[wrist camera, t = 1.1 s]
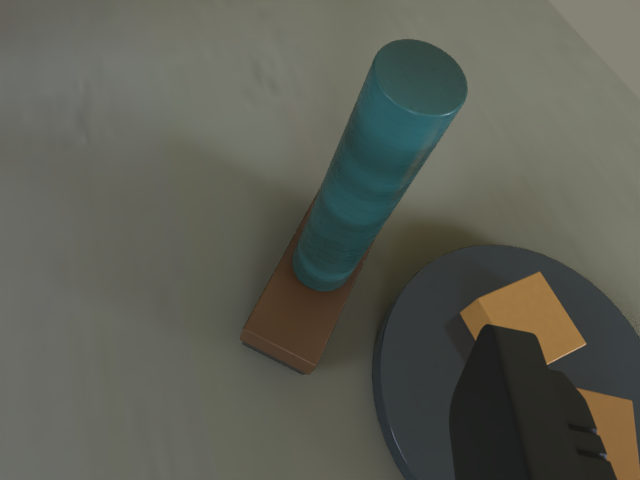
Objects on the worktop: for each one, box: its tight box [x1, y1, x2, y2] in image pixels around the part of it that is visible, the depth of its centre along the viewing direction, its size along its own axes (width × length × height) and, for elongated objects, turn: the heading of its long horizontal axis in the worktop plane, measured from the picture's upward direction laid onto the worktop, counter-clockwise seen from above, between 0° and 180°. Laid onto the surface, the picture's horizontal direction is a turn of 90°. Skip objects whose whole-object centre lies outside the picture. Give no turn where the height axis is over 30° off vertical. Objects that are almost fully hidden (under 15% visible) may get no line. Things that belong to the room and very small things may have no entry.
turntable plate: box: [372, 245, 640, 480], centre depth 29 cm, size 15×15×1 cm
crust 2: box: [577, 388, 640, 480], centre depth 26 cm, size 4×4×2 cm
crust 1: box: [460, 272, 586, 365], centre depth 28 cm, size 4×4×2 cm
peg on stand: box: [240, 39, 468, 375], centre depth 23 cm, size 9×4×15 cm, turn 156°
